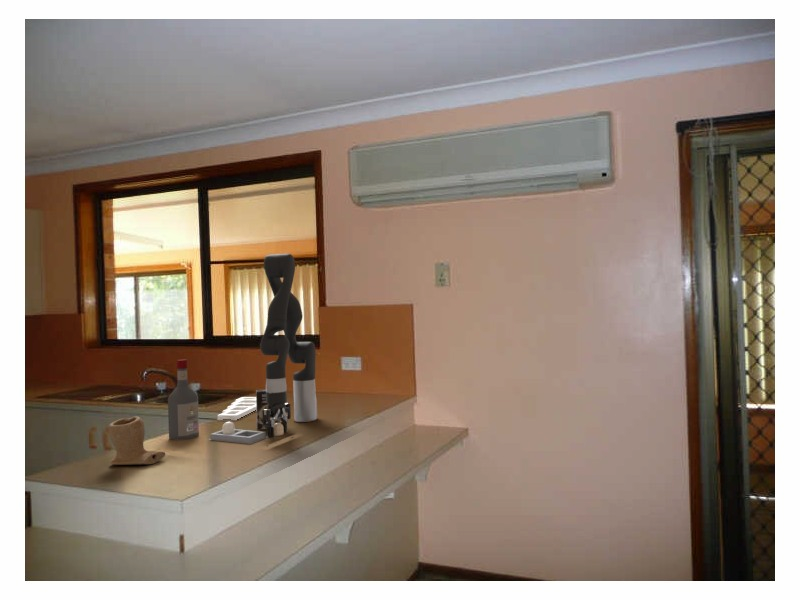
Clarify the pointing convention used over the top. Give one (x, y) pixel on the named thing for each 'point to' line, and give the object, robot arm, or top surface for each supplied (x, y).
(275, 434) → the brown egg
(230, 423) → the cream egg
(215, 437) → the egg carton
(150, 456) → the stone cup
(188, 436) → the liquor
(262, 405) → the coffee box
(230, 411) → the holder
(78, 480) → the top surface
